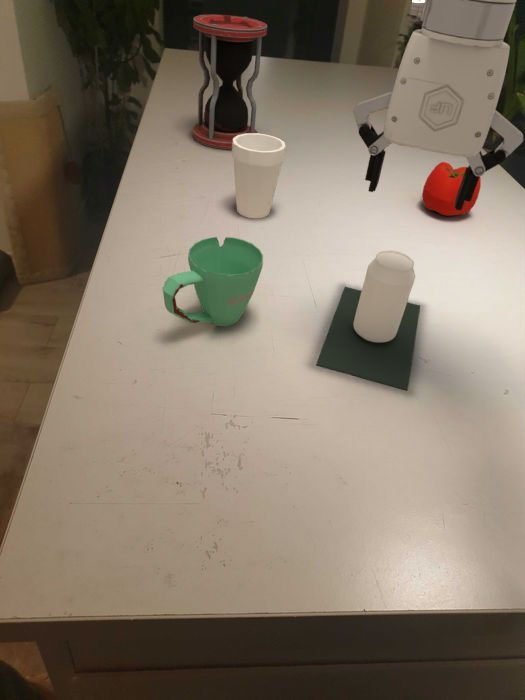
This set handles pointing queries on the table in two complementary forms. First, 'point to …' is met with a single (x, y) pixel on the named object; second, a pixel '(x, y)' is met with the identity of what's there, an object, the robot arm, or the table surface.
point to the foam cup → (256, 172)
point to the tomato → (446, 190)
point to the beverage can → (384, 296)
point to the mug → (217, 280)
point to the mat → (369, 346)
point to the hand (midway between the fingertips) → (414, 196)
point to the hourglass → (226, 77)
